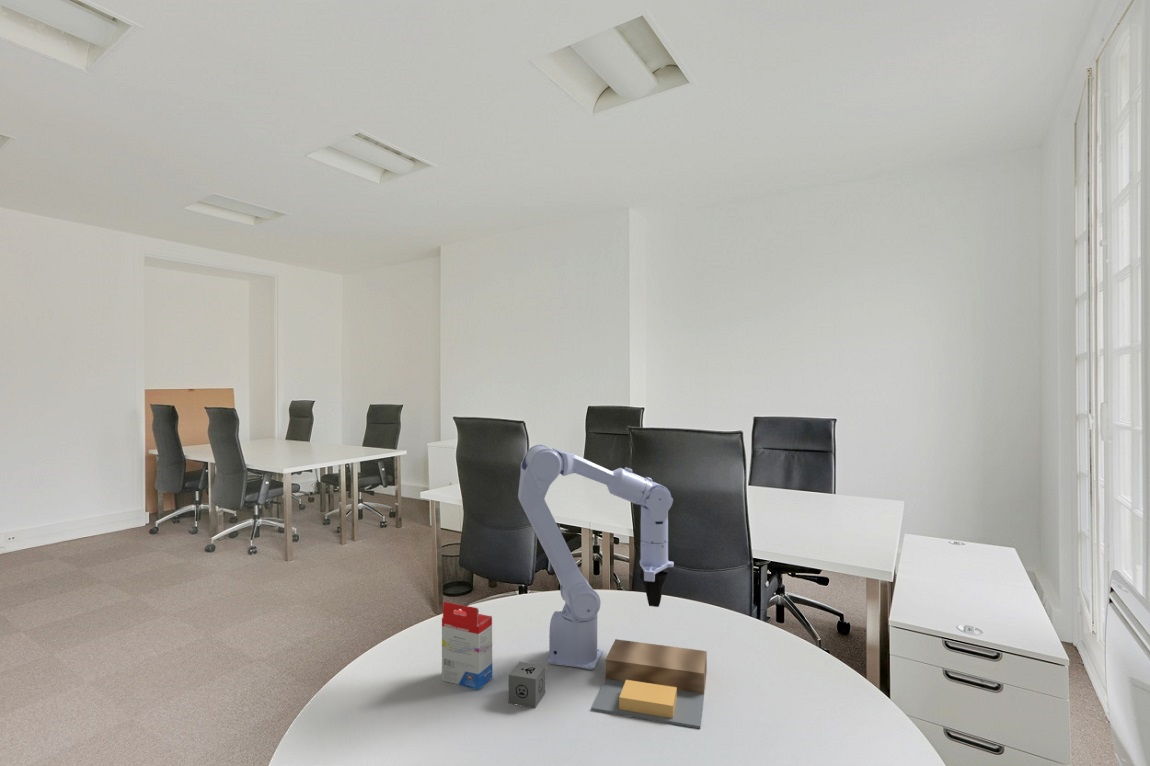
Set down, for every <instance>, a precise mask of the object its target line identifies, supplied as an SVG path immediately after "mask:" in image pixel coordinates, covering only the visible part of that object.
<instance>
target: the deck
mask: <svg viewBox="0 0 1150 766" xmlns="http://www.w3.org/2000/svg"><path fill="white" fill-rule="evenodd" d="M707 652H708V651H707V650H701V649H694V648H685V647H679V646H678V647H677V646H670V645H663V644H654V643H647V642H639V641H634V640H633V641H632V640H626V639H625V640H624V639H617V638H616V639H614V642H613V644H612V645H611V647H610V649H609V651H608V654H607V655H606V657H605V659H604V660H605V661H604V663H605V664H604V666H605V669H604V671H605V672H604V673H605V675H604V676H605V677H604V680H605V679H609V680H615V681H622V682H625V681H626V680H631V681H638V682H644V683H651V684H658V685H664V686H671V687H677V690H681V691H688V692H694V693H701V694H704V695H705V692H706V691H705V690H706V682H707V671H708V670H707V669H708V668H707V662H708V658H707V657H708V656H707Z"/></svg>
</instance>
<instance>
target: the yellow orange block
mask: <svg viewBox="0 0 1150 766" xmlns="http://www.w3.org/2000/svg"><path fill="white" fill-rule="evenodd" d="M676 701H677V687H671V686H664V685H658V684H651V683H644V682H638V681H631V680H626V681H625V684H624V686H623V689H622V691H621V694H620V696H619V709H621V710H627V711H633V712H639V713H645V714H651V715H657V716H663V717H669V718H673V716H674V711H675V706H676Z"/></svg>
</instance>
